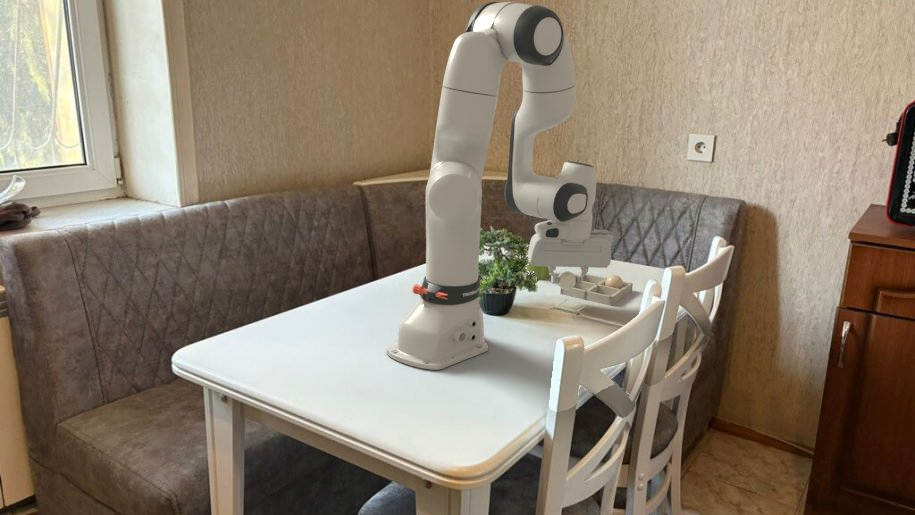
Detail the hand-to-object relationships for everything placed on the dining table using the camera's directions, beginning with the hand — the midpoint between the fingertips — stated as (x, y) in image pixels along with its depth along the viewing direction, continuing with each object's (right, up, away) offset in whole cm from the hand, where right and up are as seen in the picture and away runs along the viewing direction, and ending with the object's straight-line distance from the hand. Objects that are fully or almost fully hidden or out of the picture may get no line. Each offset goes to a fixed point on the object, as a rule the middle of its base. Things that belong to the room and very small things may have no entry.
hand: (566, 283), depth 169 cm
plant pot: (-4, 0, +24) cm, 24 cm away
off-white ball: (0, -2, +1) cm, 2 cm away
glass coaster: (+1, -6, +1) cm, 7 cm away
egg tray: (+10, -4, +11) cm, 15 cm away
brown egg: (+14, -3, +11) cm, 18 cm away
